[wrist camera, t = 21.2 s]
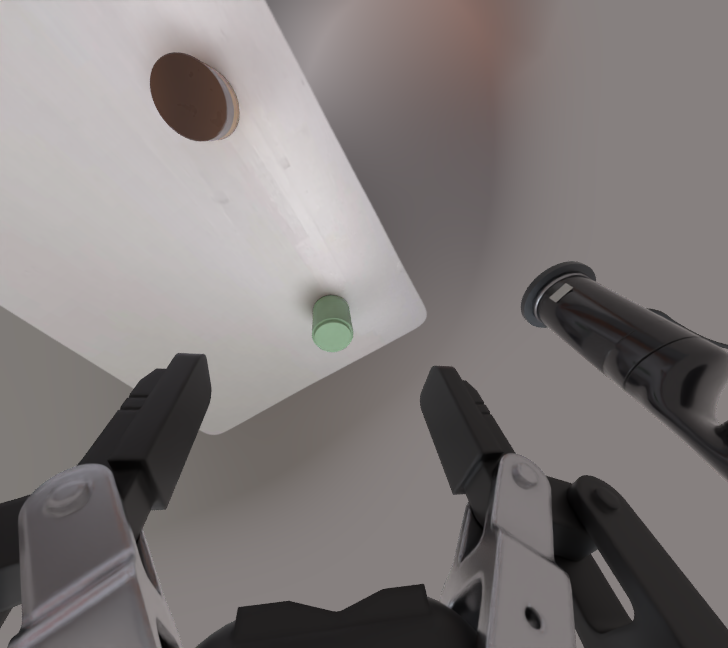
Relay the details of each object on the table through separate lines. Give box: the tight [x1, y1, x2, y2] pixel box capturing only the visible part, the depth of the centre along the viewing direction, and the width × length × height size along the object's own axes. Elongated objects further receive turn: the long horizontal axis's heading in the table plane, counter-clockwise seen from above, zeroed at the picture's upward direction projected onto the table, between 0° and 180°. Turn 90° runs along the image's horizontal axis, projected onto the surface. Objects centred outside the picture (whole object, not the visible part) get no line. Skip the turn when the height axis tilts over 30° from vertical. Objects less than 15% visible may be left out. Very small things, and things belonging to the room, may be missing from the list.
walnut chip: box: [150, 53, 234, 141], centre depth 25 cm, size 6×6×2 cm
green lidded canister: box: [312, 295, 353, 352], centre depth 41 cm, size 6×6×7 cm
